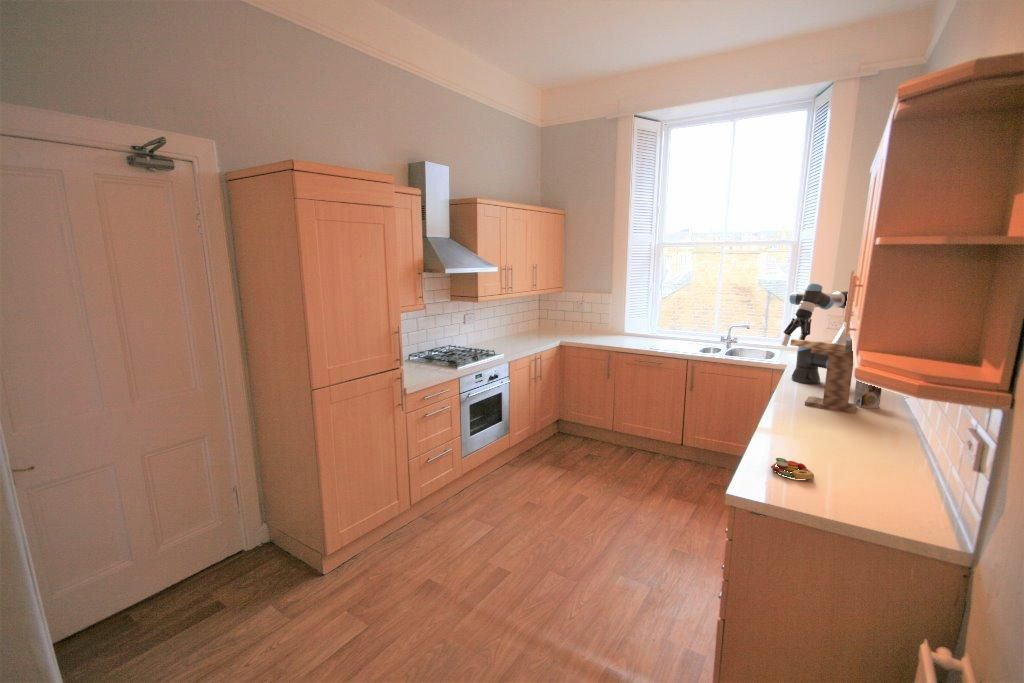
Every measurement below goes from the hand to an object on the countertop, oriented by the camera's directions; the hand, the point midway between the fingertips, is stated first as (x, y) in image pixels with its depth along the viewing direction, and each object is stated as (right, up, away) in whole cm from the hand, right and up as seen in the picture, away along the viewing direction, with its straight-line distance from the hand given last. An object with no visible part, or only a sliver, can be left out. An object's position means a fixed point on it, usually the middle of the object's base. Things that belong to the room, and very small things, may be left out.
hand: (791, 346), depth 258 cm
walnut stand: (+9, -31, -19) cm, 38 cm away
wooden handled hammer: (+3, -1, -21) cm, 21 cm away
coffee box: (+27, -31, -19) cm, 46 cm away
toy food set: (-56, -45, -92) cm, 117 cm away
